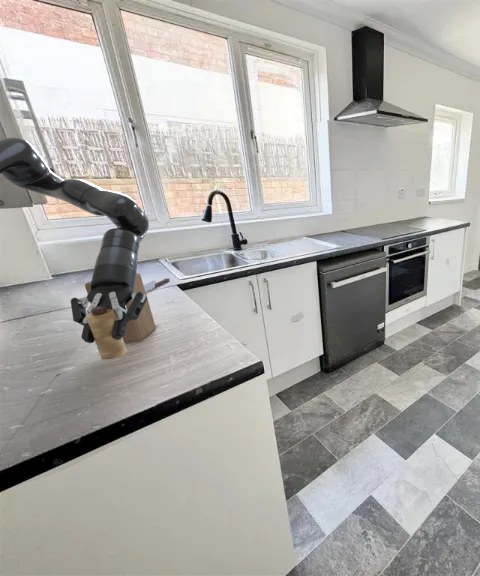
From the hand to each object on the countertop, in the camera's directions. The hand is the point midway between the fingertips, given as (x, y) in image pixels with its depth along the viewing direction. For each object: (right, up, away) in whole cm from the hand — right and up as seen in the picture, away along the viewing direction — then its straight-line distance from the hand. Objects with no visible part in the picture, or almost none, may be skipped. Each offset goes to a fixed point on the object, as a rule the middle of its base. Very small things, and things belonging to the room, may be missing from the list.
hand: (102, 339), depth 65 cm
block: (-21, -5, +34) cm, 40 cm away
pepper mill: (0, -4, +3) cm, 5 cm away
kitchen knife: (-48, +9, +75) cm, 90 cm away
